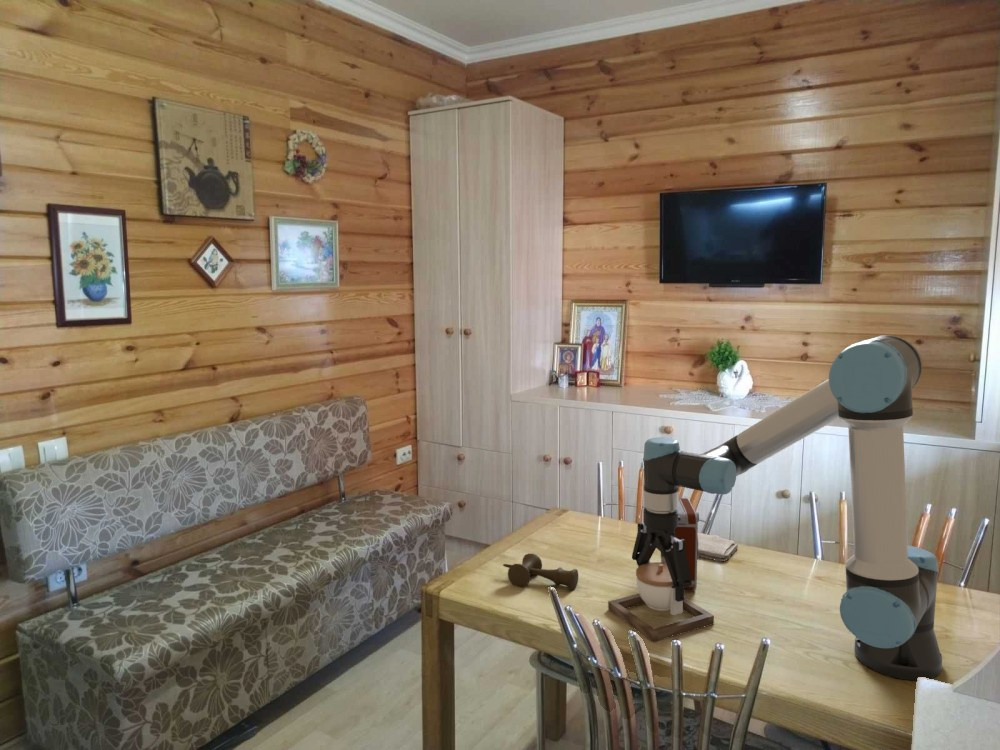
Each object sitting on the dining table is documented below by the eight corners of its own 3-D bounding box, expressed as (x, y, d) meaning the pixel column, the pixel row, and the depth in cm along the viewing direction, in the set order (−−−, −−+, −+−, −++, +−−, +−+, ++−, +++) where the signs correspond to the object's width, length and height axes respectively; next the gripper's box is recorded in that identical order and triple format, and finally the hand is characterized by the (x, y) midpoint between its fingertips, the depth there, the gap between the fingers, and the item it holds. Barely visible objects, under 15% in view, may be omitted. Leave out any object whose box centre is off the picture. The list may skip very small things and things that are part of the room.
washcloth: (726, 564, 190) (727, 553, 189) (661, 551, 200) (661, 540, 199) (739, 549, 200) (739, 539, 199) (676, 537, 209) (676, 527, 209)
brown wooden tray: (713, 624, 158) (713, 615, 158) (652, 642, 151) (652, 633, 151) (665, 594, 173) (666, 586, 172) (608, 609, 166) (608, 601, 165)
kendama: (569, 599, 173) (494, 582, 181) (582, 584, 181) (510, 569, 190) (570, 575, 172) (494, 560, 180) (583, 561, 180) (511, 547, 189)
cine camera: (689, 561, 191) (690, 488, 188) (702, 594, 172) (703, 513, 169) (654, 560, 192) (654, 488, 189) (663, 593, 173) (663, 513, 170)
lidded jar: (633, 612, 158) (633, 572, 156) (638, 591, 168) (638, 553, 167) (683, 618, 155) (684, 577, 153) (686, 596, 165) (686, 557, 163)
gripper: (710, 521, 149) (708, 620, 152) (642, 491, 170) (642, 579, 173) (681, 527, 146) (680, 629, 149) (616, 496, 167) (616, 586, 170)
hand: (660, 602), depth 161 cm, fingers closed on lidded jar, 11 cm apart
